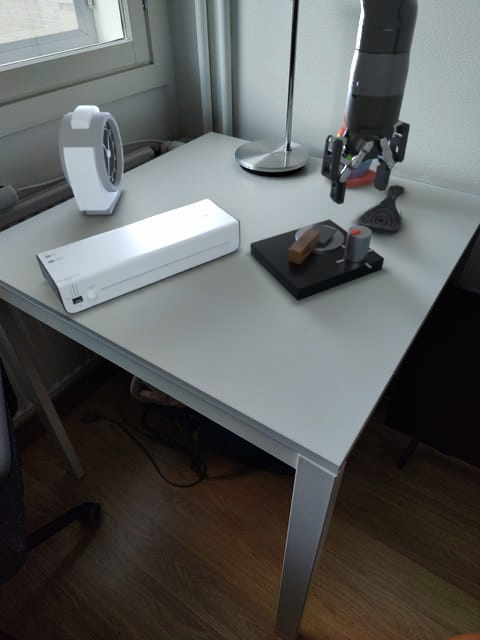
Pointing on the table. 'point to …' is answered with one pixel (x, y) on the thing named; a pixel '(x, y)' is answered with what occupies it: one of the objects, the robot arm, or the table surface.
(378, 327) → the table surface
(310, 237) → the spatula
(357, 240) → the hob knob
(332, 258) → the hob
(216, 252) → the laminator
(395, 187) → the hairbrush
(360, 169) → the stacking bear
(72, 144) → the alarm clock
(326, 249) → the burner
